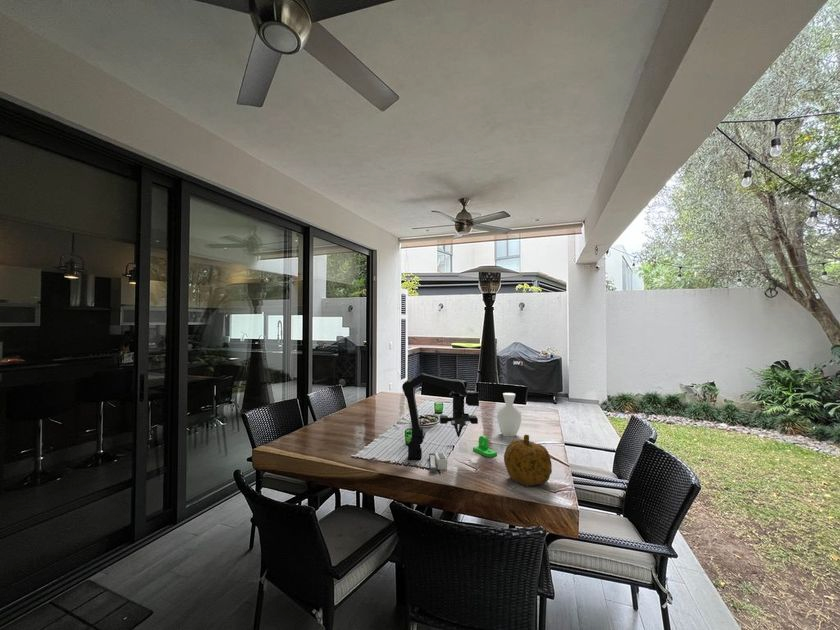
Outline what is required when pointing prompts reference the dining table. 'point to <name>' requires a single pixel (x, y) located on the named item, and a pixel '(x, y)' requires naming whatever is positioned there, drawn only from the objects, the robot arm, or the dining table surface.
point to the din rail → (432, 463)
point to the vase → (509, 416)
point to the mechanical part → (484, 448)
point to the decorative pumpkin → (527, 462)
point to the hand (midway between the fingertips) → (458, 436)
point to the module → (440, 461)
